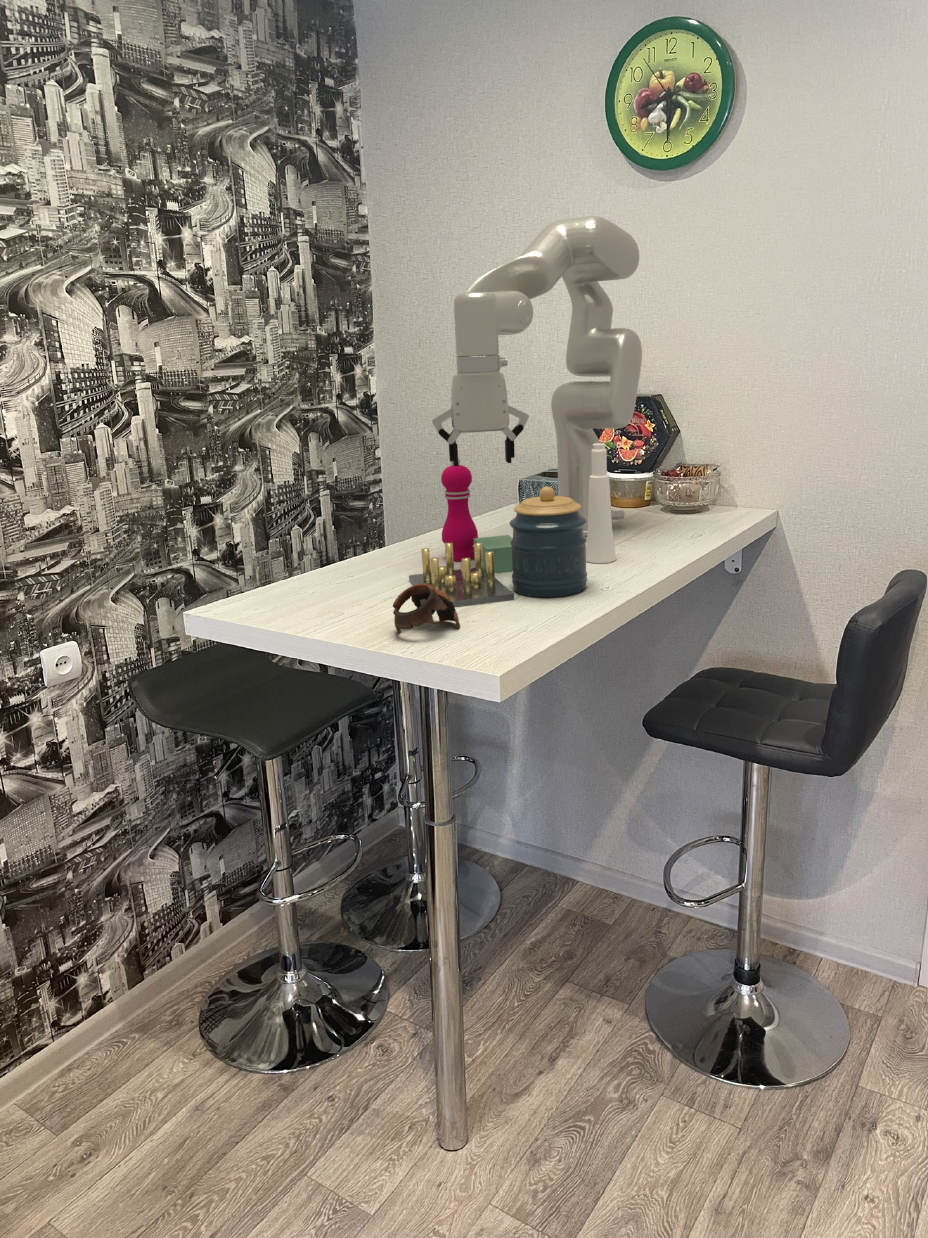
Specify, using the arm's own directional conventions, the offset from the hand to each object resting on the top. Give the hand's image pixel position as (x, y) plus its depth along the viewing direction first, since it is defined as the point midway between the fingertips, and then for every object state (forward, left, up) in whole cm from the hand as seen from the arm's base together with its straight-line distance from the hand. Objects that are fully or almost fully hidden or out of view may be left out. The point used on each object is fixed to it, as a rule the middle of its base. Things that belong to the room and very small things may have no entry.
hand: (482, 463), depth 169 cm
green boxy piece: (-3, -2, -20) cm, 21 cm away
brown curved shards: (+18, +30, -20) cm, 40 cm away
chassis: (+8, +11, -20) cm, 24 cm away
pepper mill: (+2, -12, -20) cm, 24 cm away
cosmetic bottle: (-22, +2, -20) cm, 30 cm away
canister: (-7, +17, -20) cm, 27 cm away
